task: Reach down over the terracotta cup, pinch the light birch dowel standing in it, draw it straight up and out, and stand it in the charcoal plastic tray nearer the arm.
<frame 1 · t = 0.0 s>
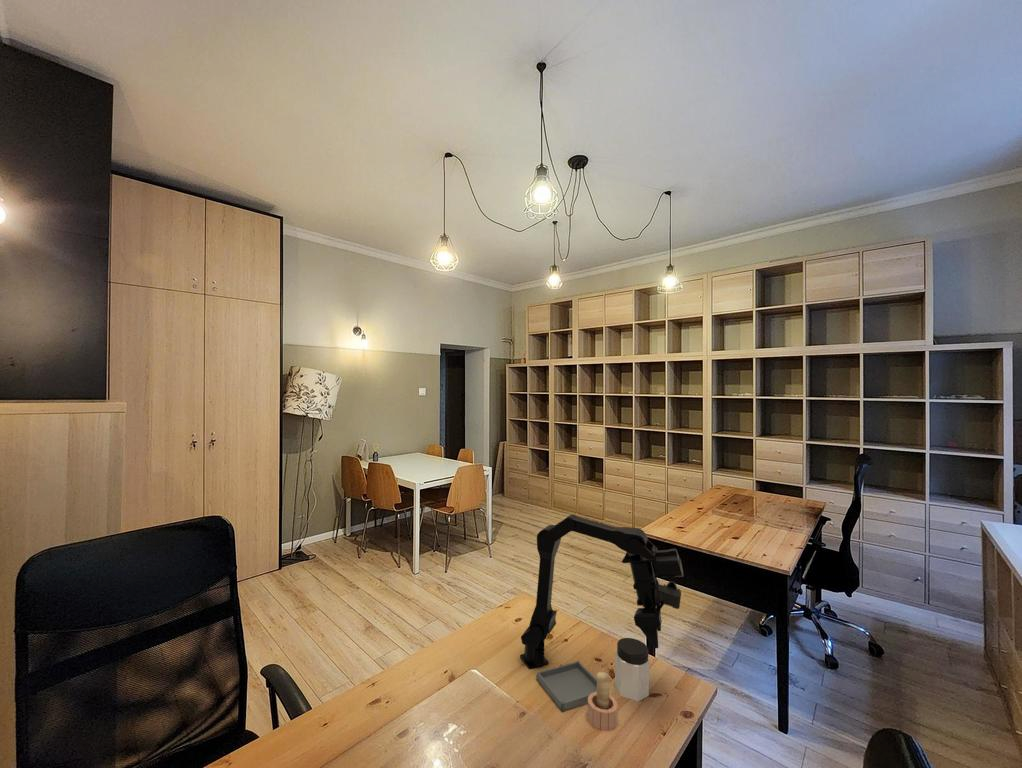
hand: (657, 639, 108), 15 cm above the table, tool pointing down, fingers open, 9 cm apart
dowel: (602, 718, 99), point 1 cm above the table, touching cup
tray: (570, 690, 109), on the table
cup: (601, 721, 99), on the table
jar: (631, 692, 110), on the table
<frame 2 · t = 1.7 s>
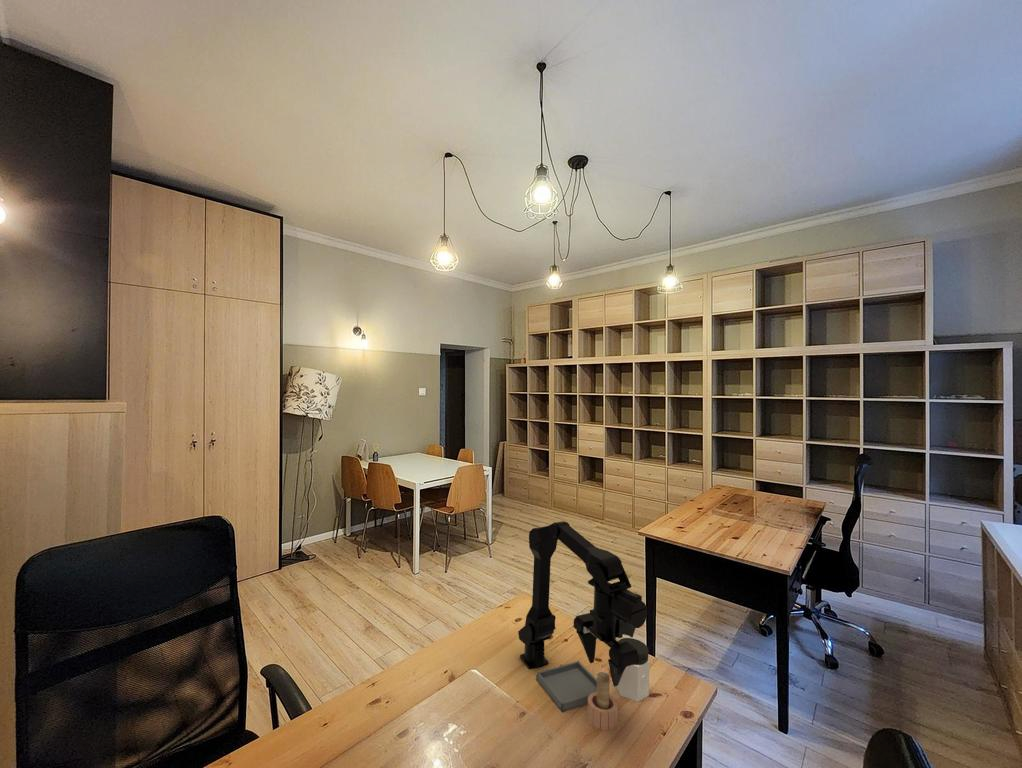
hand: (603, 673, 100), 11 cm above the table, tool pointing down, fingers open, 9 cm apart
nothing on the table moved.
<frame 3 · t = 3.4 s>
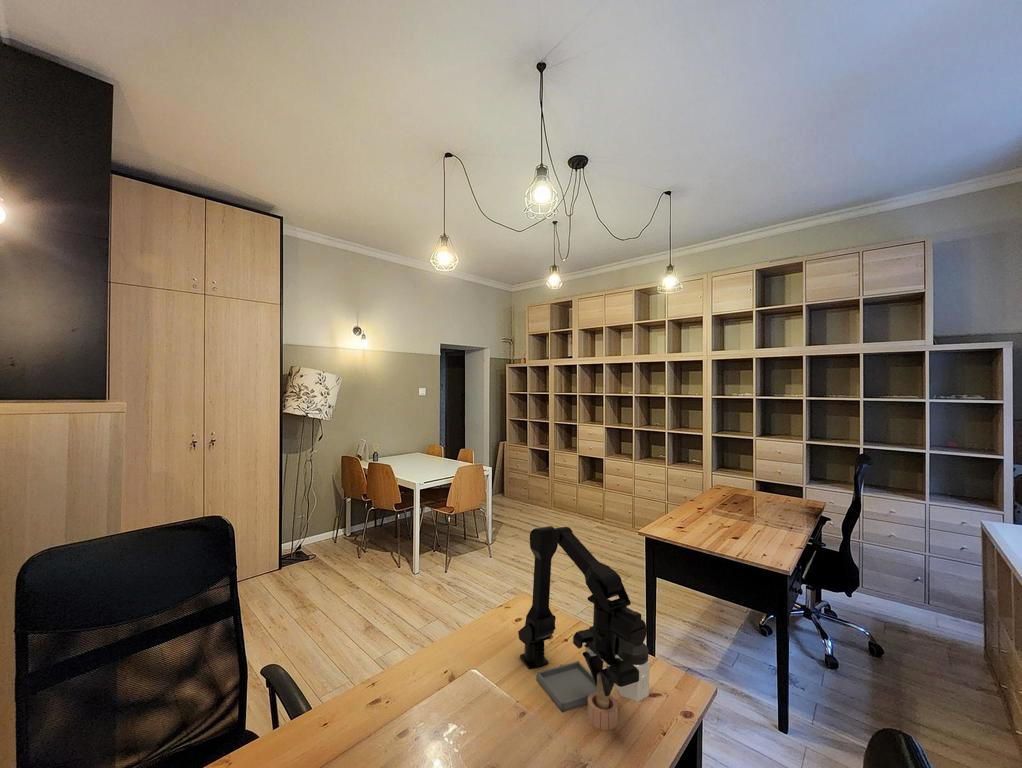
hand: (602, 691, 100), 7 cm above the table, tool pointing down, fingers closed on dowel, 3 cm apart
dowel: (602, 718, 99), point 1 cm above the table, touching cup, gripper
everything else where it was.
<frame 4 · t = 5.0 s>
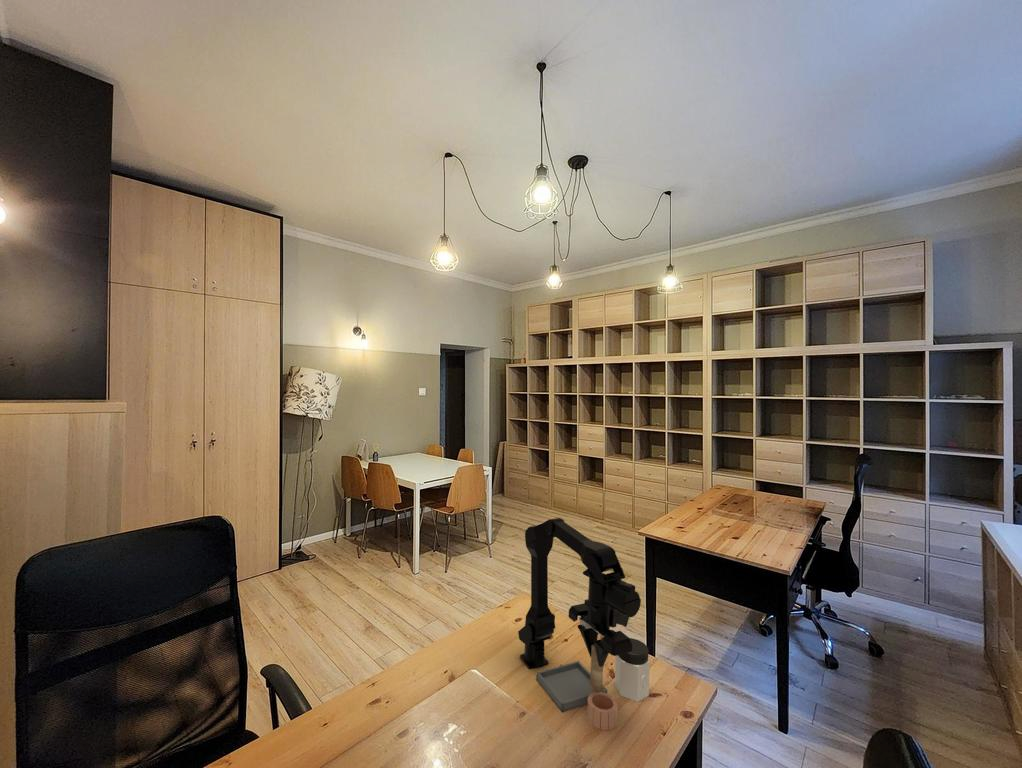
hand: (597, 662, 102), 13 cm above the table, tool pointing down, fingers closed on dowel, 3 cm apart
dowel: (595, 688, 102), point 6 cm above the table, touching gripper
everything else where it was.
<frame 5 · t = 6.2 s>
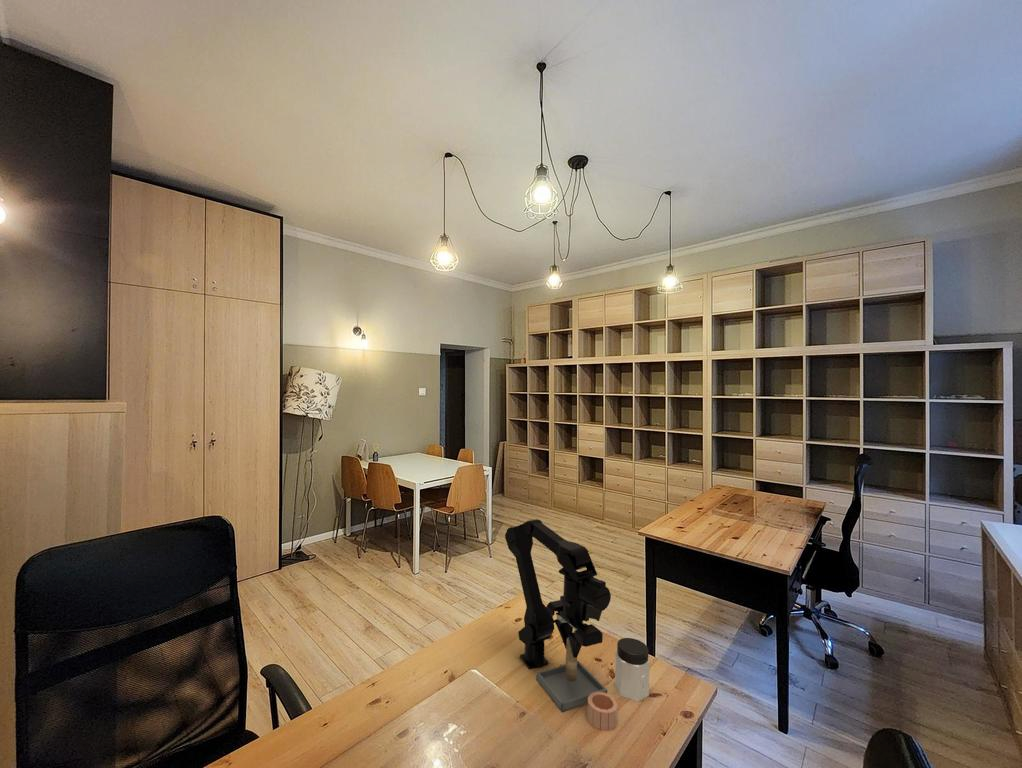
hand: (571, 653, 110), 10 cm above the table, tool pointing down, fingers closed on dowel, 3 cm apart
dowel: (570, 678, 110), point 3 cm above the table, touching gripper
everything else where it was.
when the fingers open (8 cm above the table, at t = 7.0 s): dowel drops 1 cm, resting on tray.
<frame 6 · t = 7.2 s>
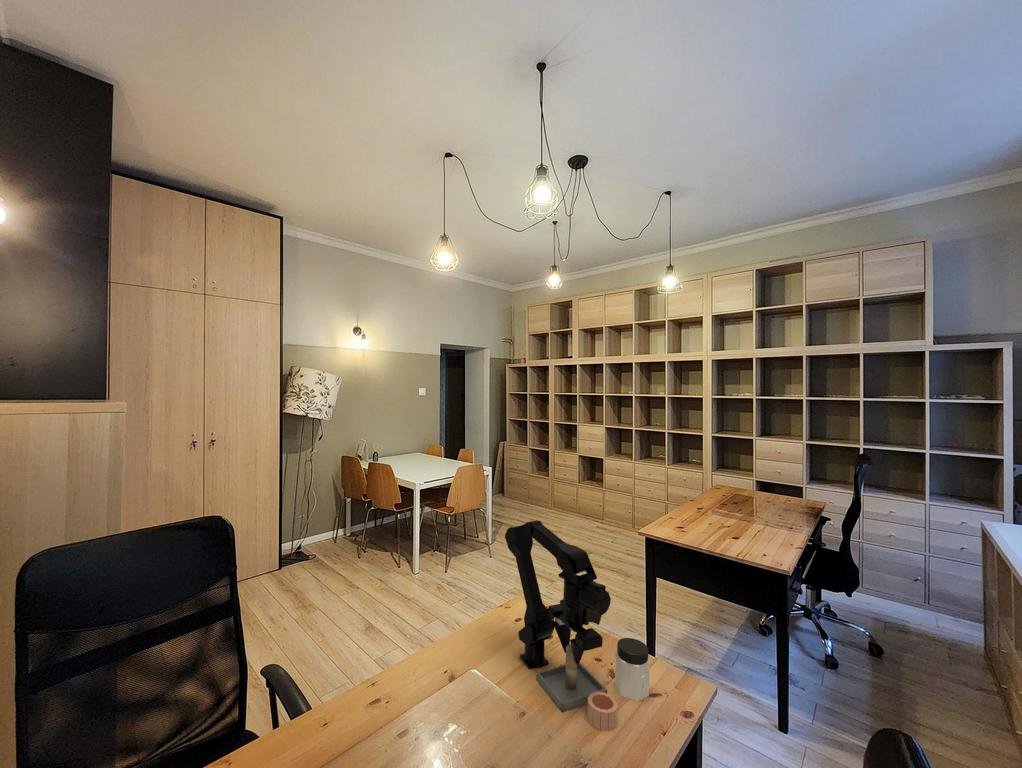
hand: (571, 657, 110), 8 cm above the table, tool pointing down, fingers open, 5 cm apart
dowel: (570, 686, 110), point 1 cm above the table, touching tray
everything else where it was.
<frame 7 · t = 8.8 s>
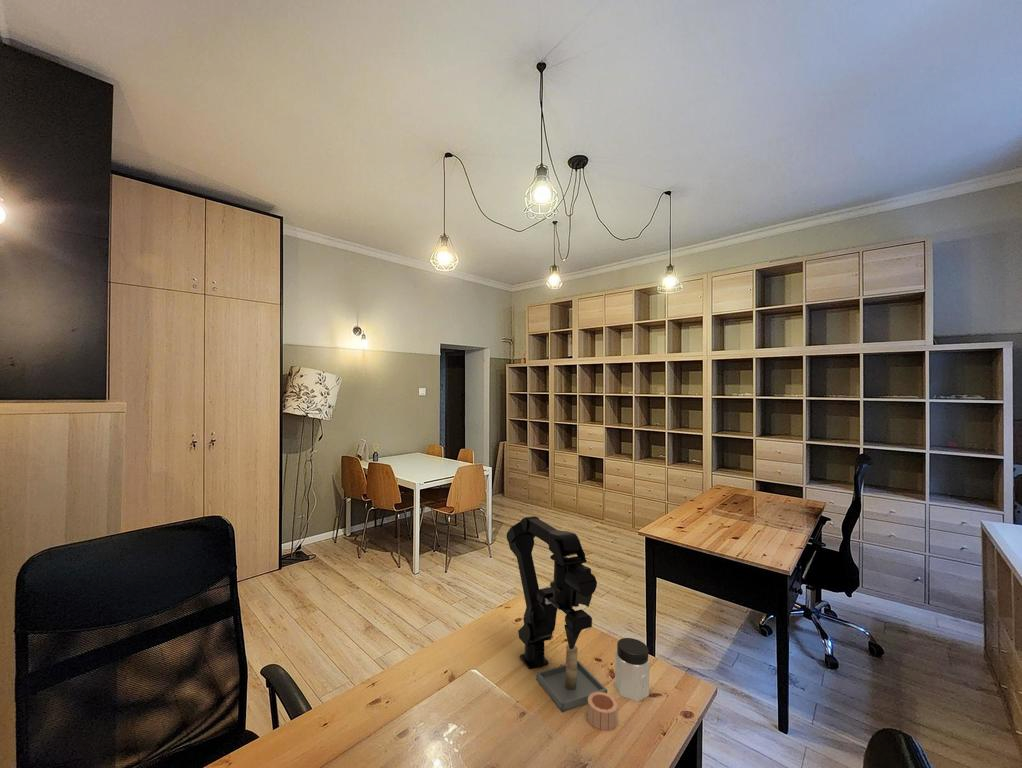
hand: (561, 639, 111), 13 cm above the table, tool pointing down, fingers open, 9 cm apart
nothing on the table moved.
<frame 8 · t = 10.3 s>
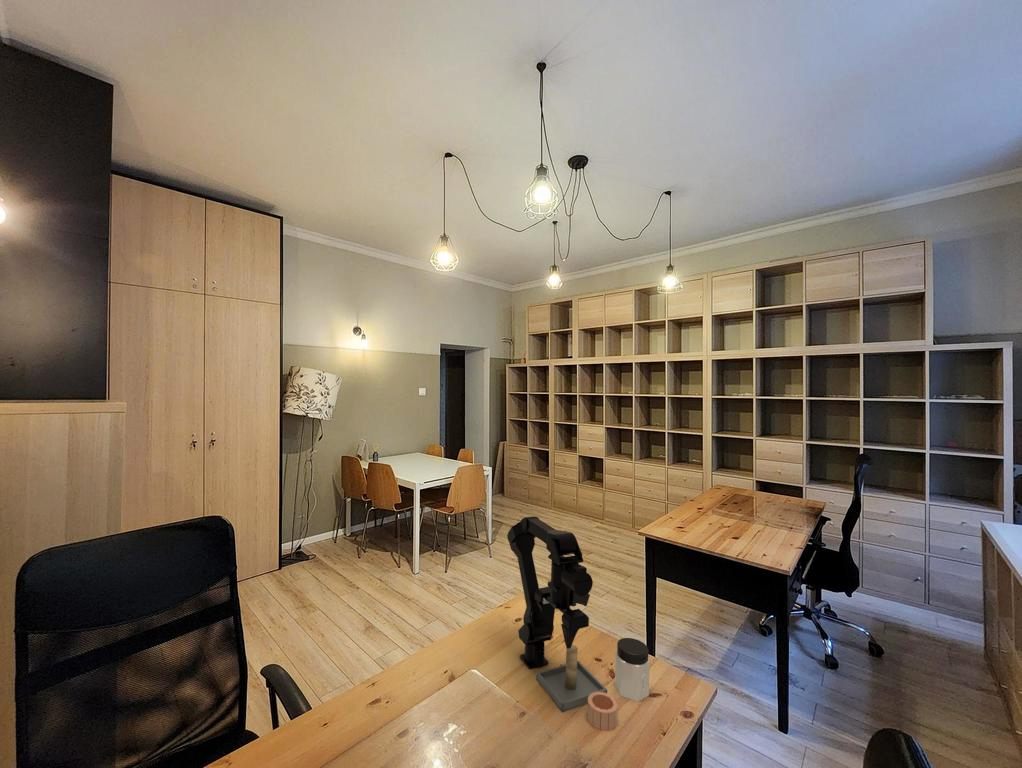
hand: (559, 638, 111), 13 cm above the table, tool pointing down, fingers open, 9 cm apart
nothing on the table moved.
at the end: dowel inside the target area on the tray (0.0 cm from its centre), point 1.0 cm above the tray's base; the gripper is holding nothing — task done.
